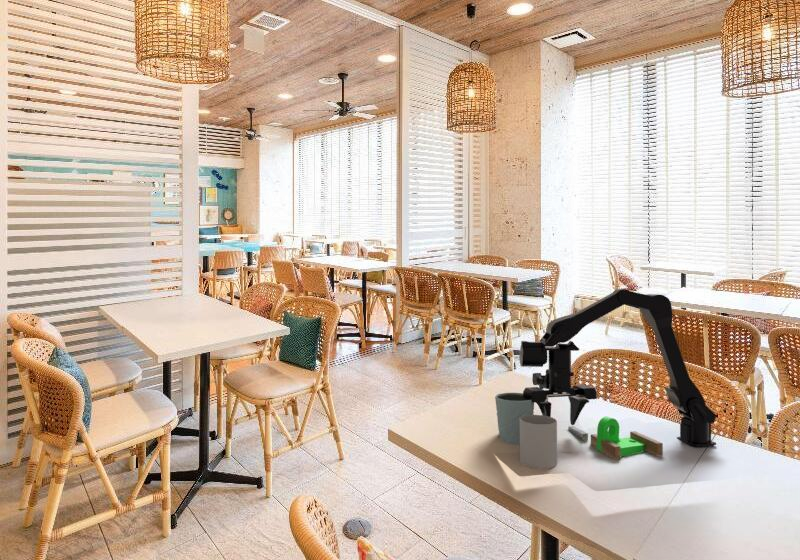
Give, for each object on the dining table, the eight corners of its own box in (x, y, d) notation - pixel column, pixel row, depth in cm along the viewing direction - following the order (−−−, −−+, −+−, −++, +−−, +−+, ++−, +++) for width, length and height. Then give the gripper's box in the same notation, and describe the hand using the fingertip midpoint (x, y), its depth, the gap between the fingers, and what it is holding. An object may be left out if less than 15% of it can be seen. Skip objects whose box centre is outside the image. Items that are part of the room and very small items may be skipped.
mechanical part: (616, 456, 119) (618, 423, 119) (596, 449, 124) (598, 417, 124) (649, 452, 124) (651, 420, 124) (628, 444, 130) (630, 414, 130)
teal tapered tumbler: (539, 448, 126) (538, 400, 126) (499, 447, 126) (499, 400, 126) (529, 435, 136) (528, 392, 136) (492, 435, 136) (492, 392, 136)
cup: (557, 458, 119) (557, 416, 119) (556, 470, 111) (556, 425, 111) (521, 454, 121) (521, 413, 122) (518, 466, 114) (517, 422, 114)
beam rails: (635, 442, 130) (635, 431, 130) (662, 455, 120) (662, 443, 120) (590, 446, 127) (590, 434, 127) (615, 459, 118) (614, 446, 118)
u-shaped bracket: (572, 434, 137) (572, 425, 137) (589, 444, 129) (589, 434, 129) (532, 437, 134) (532, 428, 134) (546, 447, 127) (546, 437, 127)
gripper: (575, 361, 142) (575, 415, 141) (514, 363, 138) (514, 419, 138) (598, 367, 131) (598, 426, 131) (532, 370, 127) (533, 431, 127)
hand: (560, 425), depth 132 cm, fingers open, 7 cm apart
